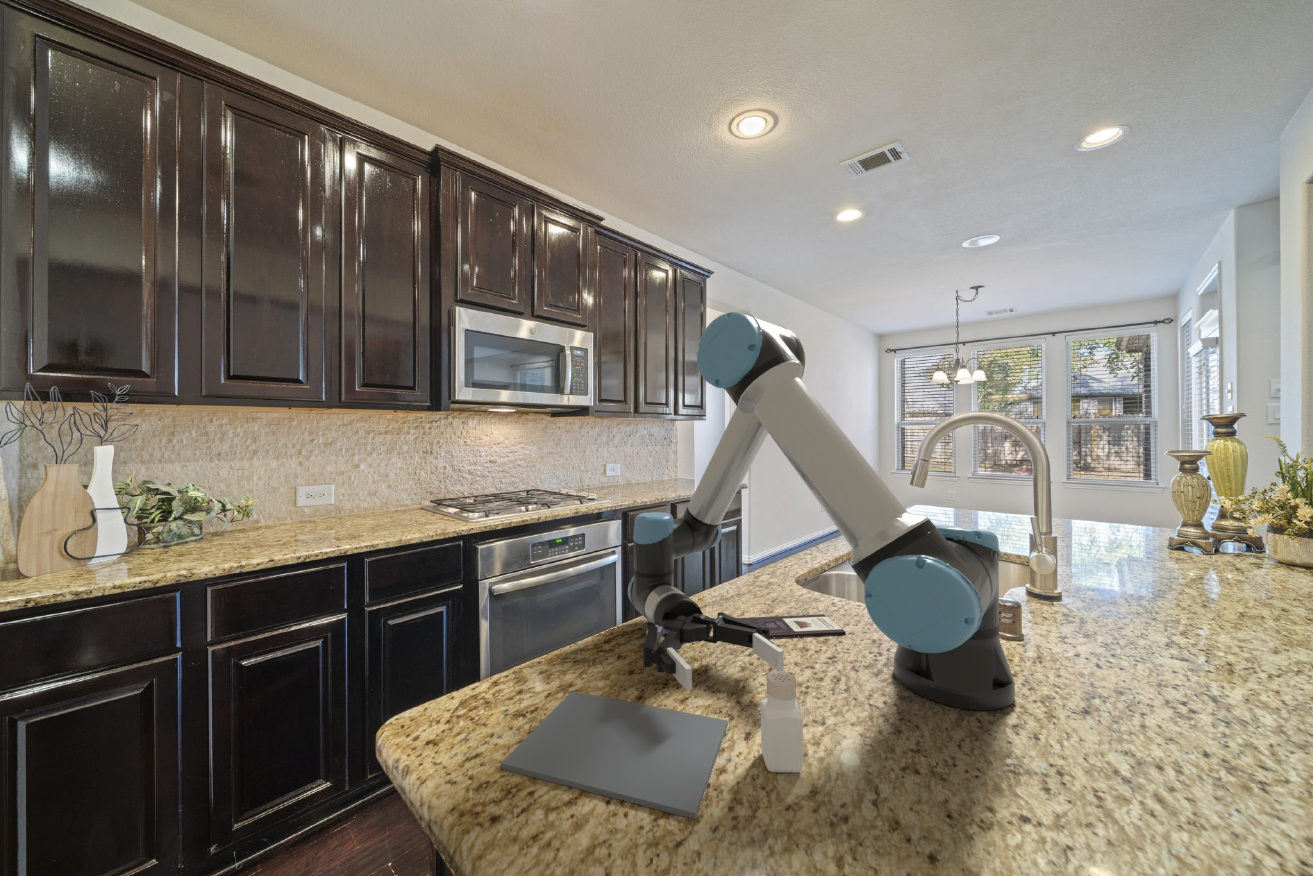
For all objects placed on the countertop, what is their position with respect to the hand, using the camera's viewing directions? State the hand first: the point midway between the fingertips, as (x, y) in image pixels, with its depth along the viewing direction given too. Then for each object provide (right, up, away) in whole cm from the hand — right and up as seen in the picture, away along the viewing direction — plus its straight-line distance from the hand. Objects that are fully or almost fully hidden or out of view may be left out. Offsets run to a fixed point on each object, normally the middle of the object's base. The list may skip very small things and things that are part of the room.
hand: (737, 670), depth 63 cm
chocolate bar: (+15, -6, +29) cm, 34 cm away
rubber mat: (-14, -6, -6) cm, 17 cm away
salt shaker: (+3, -6, -9) cm, 11 cm away
